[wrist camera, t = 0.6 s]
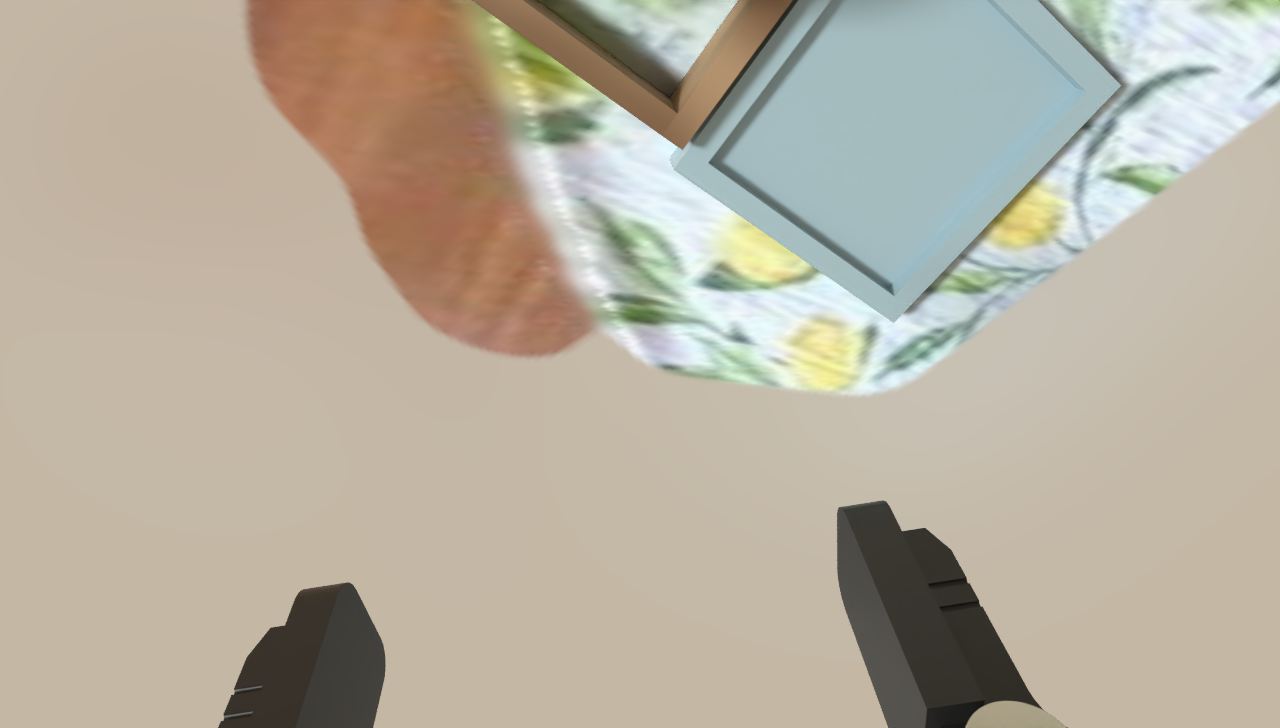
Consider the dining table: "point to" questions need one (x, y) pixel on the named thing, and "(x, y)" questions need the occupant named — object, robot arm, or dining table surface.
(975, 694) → the robot arm
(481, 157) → the dining table surface
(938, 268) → the tray
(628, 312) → the dining table surface
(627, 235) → the dining table surface
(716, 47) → the frame
